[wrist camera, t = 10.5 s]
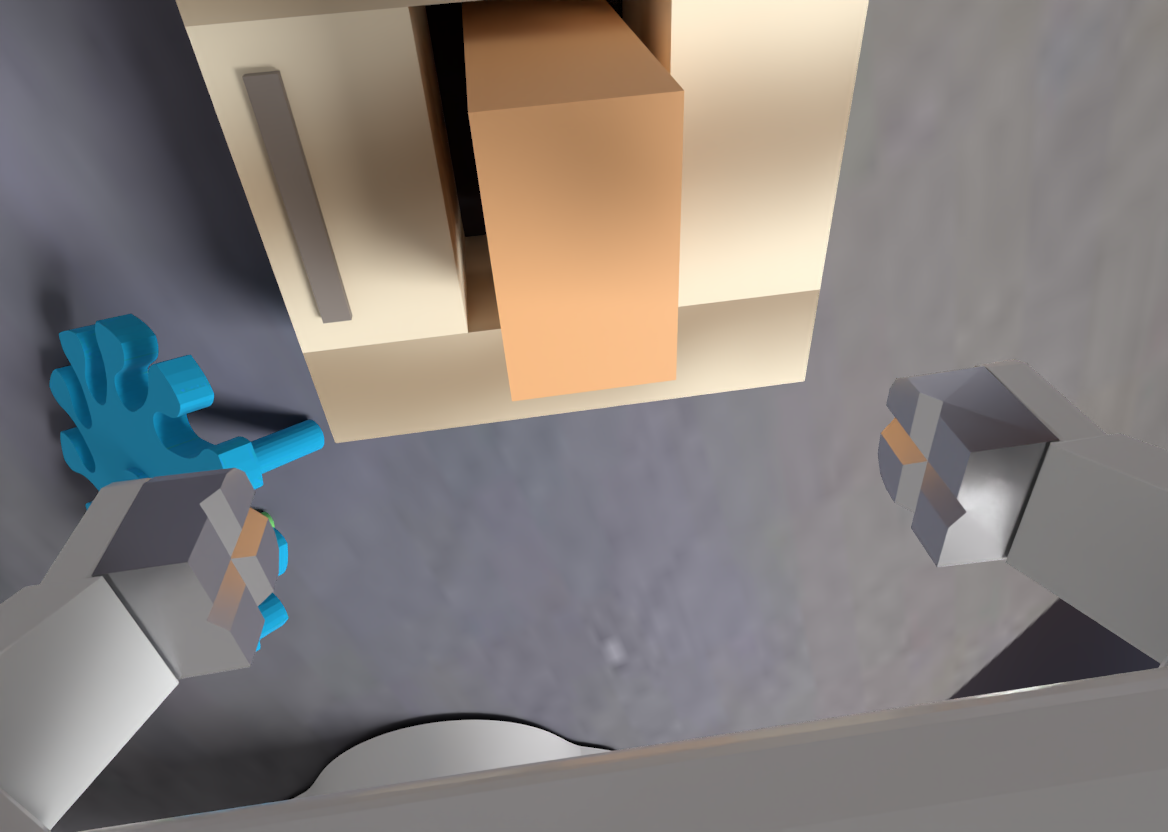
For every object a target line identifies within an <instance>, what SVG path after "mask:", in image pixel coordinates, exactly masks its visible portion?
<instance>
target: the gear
mask: <svg viewBox="0 0 1168 832" xmlns="http://www.w3.org/2000/svg"><path fill="white" fill-rule="evenodd" d="M59 338H60V342H61V345H62V348H63V351H64V353H65V355H66V357H67V358H68V360H69V362H70V363H71V365H70V366H66V367H62V368H58V369H55V370H54V371H53V372H52V374H51V378H50V384H49V387H50V389H51V392H52V394H53V396H54V397H55V399H56V401H57V402H58V403H59V405H60V406H61V407H62V408H63V409H64V410H65V411H66V412H67V413H68V415H69V416H70V417H71V418H72V420H73V421H74V423H75V424H76V426H77V427H75V428H71V429H68V430H65V431H62V432H61V433H60V439H61V446H62V451H63V456H64V460H65V461H66V463H67V464H68V466H69V467H70V468H71V469H72V470H73V471H75V472H77V473H80V474H82V475H84V476H85V477H86V478H87V479H89V480H90V481H91V482H92V483H93V484H94V486H95V487H96V488H97V489H98V491H100V489H101V488H103V487H105V486H107V485H109V484H111V483H113V482H120V481H128V480H136V479H143V478H154V477H158V476H167V475H176V474H184V473H193V472H202V471H210V470H219V469H228V468H237V469H239V470H241V471H244V472H245V473H246V475H247V477H248V479H249V481H250V483H251V484H252V486H253V488H254V490H255V489H257V488H259V487H261V486H263V478H262V474H263V473H265V472H268V471H270V470H272V469H275V468H277V467H279V466H282V465H284V464H286V463H289V462H291V461H293V460H296V459H298V458H300V457H303V456H305V455H307V454H310V453H312V452H314V451H317V450H319V449H321V448H322V447H323V446H324V435H323V433H322V430H321V428H320V427H319V425H318V424H317V423H316V422H314V421H313V420H306V421H303V422H301V423H298V424H296V425H293V426H290V427H288V428H285V429H283V430H280V431H277V432H275V433H272V434H270V435H267V436H265V437H262V438H259V439H257V440H254V441H252V442H250V441H249V440H248V439H246V438H244V437H236V438H233V439H231V440H228V441H225V442H223V443H220V444H217V445H213V444H211V443H209V442H207V441H205V440H203V439H201V438H200V437H198V436H197V435H196V434H195V432H194V431H193V429H192V428H191V426H190V424H189V421H188V418H187V414H188V413H191V412H194V411H197V410H200V409H203V408H206V407H209V406H210V405H211V404H212V403H213V400H214V393H213V390H212V388H211V386H210V384H209V382H208V380H207V378H206V376H205V375H204V373H203V372H202V370H201V369H200V367H199V366H198V364H197V363H196V361H195V360H194V359H193V357H192V356H191V355H186V356H182V357H178V358H175V359H171V360H167V361H163V362H160V363H156V364H153V365H151V366H150V368H149V371H148V366H149V365H150V364H151V363H153V362H154V361H155V360H156V359H157V357H158V352H159V351H158V342H157V338H156V335H155V334H154V333H153V331H152V330H151V329H150V328H149V327H148V326H147V325H146V324H145V323H144V322H143V321H141V320H140V319H139V318H137V317H136V316H134V315H132V314H127V315H122V316H118V317H113V318H108V319H104V320H99V321H96V324H94V325H90V326H85V327H80V328H76V329H71V330H67V331H63V332H60V333H59ZM92 502H93V501H91V502H89V503H86V509H87V510H88V508H89V506H90V505H91V503H92ZM261 514H262V515H264V516H266V517H267V518H268V519H269V521H270V523H271V525H272V527H273V529H274V532H275V535H276V539H277V543H278V547H279V574H278V576H279V575H281V574H283V573H284V572H285V570H286V568H287V563H288V545H287V542H286V540H285V538H284V537H283V536H282V535H281V533H280V532H279V531H278V530H276V529H275V528H274V522H273V520H272V518H271V516H270V515H269V514H268V513H267V512H262V513H261ZM258 608H259V610H260V612H261V614H262V616H263V618H264V619H265V622H264V626H263V629H262V632H261V635H260V639H261V638H263V637H264V636H266V635H268V634H269V633H271V632H272V631H274V630H276V629H277V628H279V627H281V626H282V625H283V624H284V623H285V622H286V621H287V620H288V615H287V612H286V610H285V608H284V606H283V605H282V603H281V601H280V600H279V599H278V598H277V596H275V595H274V594H273V593H271V594H270V595H269V596H268V597H267V598H266V599H265V600H264V601H263V602H262V603H261V604H260V605H259V606H258ZM260 639H259V640H260ZM259 649H260V641H259V642H258V645H257V649H256V651H258V650H259Z"/></svg>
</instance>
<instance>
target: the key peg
mask: <svg viewBox="0 0 1168 832" xmlns="http://www.w3.org/2000/svg"><path fill="white" fill-rule="evenodd" d="M462 18H463V35H464V52H465V68H466V85H467V102H468V115H469V122H470V128H471V135H472V141H473V148H474V155H475V161H476V168H477V174H478V181H479V188H480V194H481V201H482V207H483V214H484V221H485V227H486V234H487V240H488V247H489V254H490V260H491V267H492V273H493V280H494V286H495V293H496V300H497V306H498V313H499V319H500V326H501V333H502V339H503V346H504V352H505V359H506V366H507V372H508V379H509V385H510V392H511V399H512V401H519V400H527V399H535V398H542V397H550V396H557V395H565V394H573V393H580V392H588V391H596V390H603V389H611V388H618V387H626V386H634V385H641V384H649V383H656V382H664V381H672V380H676V368H677V333H678V298H679V263H680V228H681V193H682V158H683V123H684V90H683V88H682V87H681V86H680V85H679V84H678V83H677V82H676V80H675V79H674V78H673V77H672V76H671V75H670V74H669V72H668V71H667V70H666V69H665V68H664V67H663V66H662V64H661V63H660V62H659V61H658V60H657V59H656V57H655V56H654V55H653V54H652V53H651V52H650V51H649V49H648V48H647V47H646V46H645V45H644V44H643V43H642V41H641V40H640V39H639V38H638V37H637V36H636V35H635V33H634V32H633V31H632V30H631V29H630V28H629V26H628V25H627V24H626V23H625V22H624V21H623V20H622V18H621V17H620V16H619V15H618V14H617V13H616V12H615V10H614V9H613V8H612V7H611V6H610V5H609V4H608V2H607V1H606V0H478V1H466V2H462Z"/></svg>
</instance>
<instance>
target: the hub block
mask: <svg viewBox="0 0 1168 832" xmlns="http://www.w3.org/2000/svg"><path fill="white" fill-rule="evenodd" d="M466 1H478V0H176V3H177V6H178V9H179V11H180V14H181V17H182V20H183V22H184V25H185V28H186V31H187V33H188V36H189V39H190V42H191V45H192V47H193V50H194V53H195V56H196V58H197V61H198V64H199V67H200V69H201V72H202V75H203V78H204V81H205V83H206V86H207V89H208V92H209V94H210V97H211V100H212V103H213V105H214V108H215V111H216V114H217V117H218V119H219V122H220V125H221V128H222V130H223V133H224V136H225V139H226V141H227V144H228V147H229V150H230V153H231V155H232V158H233V161H234V164H235V166H236V169H237V172H238V175H239V177H240V180H241V183H242V186H243V189H244V191H245V194H246V197H247V200H248V202H249V205H250V208H251V211H252V213H253V216H254V219H255V222H256V224H257V227H258V230H259V233H260V236H261V238H262V241H263V244H264V247H265V249H266V252H267V255H268V258H269V260H270V263H271V266H272V269H273V272H274V274H275V277H276V280H277V283H278V285H279V288H280V291H281V294H282V296H283V299H284V302H285V305H286V308H287V310H288V313H289V316H290V319H291V321H292V324H293V327H294V330H295V332H296V335H297V338H298V341H299V344H300V346H301V349H302V352H303V355H304V357H305V360H306V363H307V366H308V368H309V371H310V374H311V377H312V380H313V382H314V385H315V388H316V391H317V393H318V396H319V399H320V402H321V404H322V407H323V410H324V413H325V416H326V418H327V421H328V424H329V427H330V429H331V432H332V435H333V438H334V440H335V443H340V442H348V441H356V440H363V439H371V438H378V437H386V436H393V435H401V434H408V433H416V432H424V431H431V430H439V429H446V428H454V427H461V426H469V425H476V424H484V423H492V422H499V421H507V420H514V419H522V418H529V417H537V416H545V415H552V414H560V413H567V412H575V411H582V410H590V409H597V408H605V407H613V406H620V405H628V404H635V403H643V402H650V401H658V400H665V399H673V398H681V397H688V396H696V395H703V394H711V393H718V392H726V391H734V390H741V389H749V388H756V387H764V386H771V385H779V384H786V383H794V382H802V381H805V375H806V369H807V363H808V357H809V351H810V345H811V339H812V333H813V327H814V321H815V315H816V309H817V304H818V298H819V292H820V286H821V280H822V274H823V268H824V262H825V256H826V250H827V244H828V238H829V233H830V227H831V221H832V215H833V209H834V203H835V197H836V191H837V185H838V179H839V173H840V167H841V161H842V156H843V150H844V144H845V138H846V132H847V126H848V120H849V114H850V108H851V102H852V96H853V90H854V85H855V79H856V73H857V67H858V61H859V55H860V49H861V43H862V37H863V31H864V25H865V19H866V13H867V8H868V2H869V0H622V16H623V21H624V22H625V23H626V24H627V25H628V26H629V28H630V29H631V30H632V31H633V32H634V33H635V35H636V36H637V37H638V38H639V39H640V40H641V41H642V43H643V44H644V45H645V46H646V47H647V48H648V49H649V51H650V52H651V53H652V54H653V55H654V56H655V57H656V59H657V60H658V61H659V62H660V63H661V64H662V66H663V67H664V68H665V69H666V70H667V71H668V72H669V74H670V75H671V76H672V77H673V78H674V79H675V80H676V82H677V83H678V84H679V85H680V86H681V87H682V88H683V90H684V123H683V158H682V193H681V228H680V263H679V298H678V333H677V368H676V380H672V381H664V382H656V383H649V384H641V385H634V386H626V387H618V388H611V389H603V390H596V391H588V392H580V393H573V394H565V395H557V396H550V397H542V398H535V399H527V400H519V401H512V399H511V392H510V385H509V379H508V372H507V366H506V359H505V352H504V346H503V339H502V333H501V326H500V319H499V313H498V306H497V300H496V293H495V286H494V280H493V273H492V267H491V260H490V254H489V247H488V240H487V235H479V236H470V237H465V235H464V229H463V223H462V218H461V212H460V206H459V200H458V194H457V188H456V183H455V177H454V171H453V165H452V159H451V153H450V147H449V142H448V136H447V130H446V124H445V118H444V112H443V106H442V101H441V95H440V89H439V83H438V77H437V71H436V66H435V60H434V54H433V48H432V42H431V36H430V30H429V25H428V19H427V13H426V7H425V5H433V4H444V3H455V2H466Z"/></svg>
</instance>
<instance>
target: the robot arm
mask: <svg viewBox="0 0 1168 832" xmlns="http://www.w3.org/2000/svg"><path fill="white" fill-rule="evenodd" d="M887 407H888V408H889V410H890V411H891V412H892V414H893V415H894V416H895V419H894V420H893V421H892V422H891V423H890V424H889V425H888V426H887V427H886V428H885V429H884V430H883V431H882V433H881V436H880V442H879V449H878V459H879V467H880V474H881V477H882V480H883V482H884V485H885V487H886V490H887V491H888V493H889V494H890V496H891V498H892V499H893V501H894V502H895V503H896V504H898V505H900V506H901V507H903V508H905V509H907V510H909V511H911V512H913V513H915V514H914V518H913V522H912V526H911V529H912V530H913V532H914V533H915V535H916V536H917V538H918V539H919V541H920V542H921V544H922V545H923V547H924V548H925V550H926V551H927V553H928V554H929V556H930V557H931V559H932V560H933V562H934V563H935V565H936V566H937V567H943V566H951V565H960V564H968V563H977V562H985V561H994V560H1002V559H1007V560H1006V563H1007V564H1009V565H1010V566H1012V567H1014V568H1015V569H1017V570H1018V571H1020V572H1021V573H1023V574H1024V575H1026V576H1027V577H1029V578H1030V579H1032V580H1033V581H1035V582H1037V583H1038V584H1040V585H1041V586H1043V587H1044V588H1046V589H1047V590H1049V591H1050V592H1052V593H1053V594H1055V595H1056V596H1058V597H1060V598H1061V599H1063V600H1064V601H1066V602H1067V603H1069V604H1070V605H1072V606H1073V607H1075V608H1077V609H1078V610H1079V611H1081V612H1083V613H1084V614H1086V615H1087V616H1089V617H1090V618H1092V619H1093V620H1095V621H1096V622H1098V623H1099V624H1101V625H1102V626H1104V627H1106V628H1107V629H1109V630H1110V631H1112V632H1113V633H1115V634H1116V635H1118V636H1119V637H1121V638H1122V639H1124V640H1125V641H1127V642H1128V643H1130V644H1132V645H1133V646H1135V647H1136V648H1138V649H1139V650H1141V651H1142V652H1144V653H1146V654H1147V655H1148V656H1150V657H1151V658H1153V659H1155V660H1156V661H1158V662H1159V663H1161V665H1160V666H1159V668H1156V669H1149V670H1143V671H1137V672H1130V673H1123V674H1117V675H1110V676H1103V677H1096V678H1090V679H1083V680H1077V681H1070V682H1064V683H1057V684H1051V685H1044V686H1037V687H1030V688H1023V689H1017V690H1010V691H1004V692H998V693H991V694H984V695H977V696H971V697H965V698H958V699H952V700H945V701H938V702H932V703H925V704H919V705H912V706H905V707H899V708H892V709H886V710H879V711H873V712H866V713H860V714H853V715H847V716H840V717H833V718H827V719H820V720H814V721H807V722H801V723H794V724H788V725H781V726H775V727H768V728H761V729H755V730H748V731H742V732H735V733H728V734H722V735H715V736H709V737H702V738H695V739H689V740H682V741H675V742H669V743H662V744H655V745H649V746H642V747H635V748H629V749H622V750H615V751H610V750H604V749H598V748H591V747H583V746H578V745H575V744H573V743H570V742H568V741H566V740H564V739H562V738H560V737H558V736H556V735H554V734H552V733H550V732H547V731H545V730H542V729H539V728H535V727H532V726H528V725H524V724H518V723H513V722H505V721H495V720H455V721H443V722H435V723H428V724H422V725H417V726H412V727H408V728H403V729H400V730H396V731H392V732H389V733H386V734H383V735H380V736H377V737H375V738H372V739H370V740H367V741H365V742H363V743H361V744H358V745H356V746H355V747H353V748H351V749H349V750H347V751H346V752H344V753H343V754H341V755H340V756H338V757H337V758H335V759H334V760H333V761H332V762H331V763H330V764H328V765H327V766H326V767H325V769H324V770H323V771H322V772H321V773H320V775H319V776H318V778H317V779H316V781H315V782H314V784H313V785H312V786H311V787H310V788H309V789H308V790H307V791H306V792H304V793H302V794H300V795H299V796H297V797H295V798H293V799H290V800H284V801H277V802H270V803H264V804H257V805H250V806H244V807H237V808H231V809H224V810H217V811H211V812H204V813H198V814H191V815H184V816H178V817H171V818H164V819H158V820H151V821H145V822H138V823H131V824H125V825H118V826H112V827H105V828H98V829H92V830H85V831H78V832H1168V450H1166V449H1163V448H1160V447H1157V446H1154V445H1152V444H1149V443H1146V442H1143V441H1141V440H1138V439H1135V438H1132V437H1130V436H1127V435H1124V434H1121V433H1119V434H1111V435H1107V434H1106V433H1105V432H1104V431H1103V430H1102V429H1101V428H1099V427H1098V426H1097V425H1096V424H1095V423H1094V422H1093V421H1092V420H1090V419H1089V418H1088V417H1087V416H1086V415H1085V414H1084V413H1083V412H1081V411H1080V410H1079V409H1078V408H1077V407H1076V406H1075V405H1074V404H1072V403H1071V402H1070V401H1069V400H1068V399H1067V398H1066V397H1065V396H1063V395H1062V394H1061V393H1060V392H1059V391H1058V390H1057V389H1056V388H1054V387H1053V386H1052V385H1051V384H1050V383H1049V382H1048V381H1047V380H1046V379H1044V378H1043V377H1042V376H1041V375H1040V374H1039V373H1038V372H1037V371H1035V370H1034V369H1033V368H1032V367H1031V366H1030V365H1029V364H1028V363H1025V362H1022V361H1019V360H1016V359H1013V360H1007V361H1001V362H995V363H989V364H983V365H977V366H975V367H973V368H966V369H959V370H952V371H944V372H937V373H930V374H923V375H916V376H909V377H902V378H896V379H895V381H894V383H893V384H892V386H891V388H890V391H889V395H888V400H887ZM254 495H255V490H254V488H253V486H252V484H251V483H250V481H249V479H248V477H247V475H246V473H245V472H244V471H241V470H239V469H237V468H228V469H219V470H210V471H202V472H193V473H184V474H176V475H167V476H158V477H154V478H143V479H136V480H128V481H120V482H113V483H111V484H109V485H107V486H105V487H103V488H101V489H100V491H99V492H98V494H97V496H96V497H95V499H94V500H93V502H92V503H91V505H90V506H89V508H88V510H87V511H86V513H85V514H84V516H83V517H82V519H81V521H80V522H79V524H78V525H77V527H76V528H75V530H74V532H73V533H72V535H71V536H70V538H69V539H68V541H67V542H66V544H65V546H64V547H63V549H62V550H61V552H60V553H59V555H58V557H57V558H56V560H55V561H54V563H53V564H52V566H51V568H50V569H49V571H48V572H47V574H46V575H45V577H44V578H43V580H42V582H41V583H40V585H34V586H27V587H24V588H23V589H21V590H20V591H19V592H17V593H16V594H14V595H13V596H12V597H10V598H9V599H7V600H6V601H4V602H3V603H2V604H0V832H51V831H50V830H51V829H52V827H53V826H54V825H55V824H56V823H57V822H58V821H59V819H60V818H61V817H62V816H63V815H64V814H65V813H66V811H67V810H68V809H69V808H70V807H71V806H72V805H73V803H74V802H75V801H76V800H77V799H78V798H79V797H80V796H81V794H82V793H83V792H84V791H85V790H86V789H87V788H88V786H89V785H90V784H91V783H92V782H93V781H94V780H95V778H96V777H97V776H98V775H99V774H100V773H101V772H102V770H103V769H104V768H105V767H106V766H107V765H108V764H109V762H110V761H111V760H112V759H113V758H114V757H115V756H116V754H117V753H118V752H119V751H120V750H121V749H122V748H123V746H124V745H125V744H126V743H127V742H128V741H129V740H130V738H131V737H132V736H133V735H134V734H135V733H136V732H137V730H138V729H139V728H140V727H141V726H142V725H143V724H144V722H145V721H146V720H147V719H148V718H149V717H150V716H151V714H152V713H153V712H154V711H155V710H156V709H157V708H158V706H159V705H160V704H161V703H162V702H163V701H164V700H165V698H166V697H167V696H168V695H169V694H170V693H171V692H172V690H173V689H174V688H175V687H176V686H177V685H178V684H179V681H178V680H177V679H182V678H188V677H194V676H200V675H206V674H211V673H217V672H223V671H229V670H235V669H240V668H246V667H251V665H252V662H253V658H254V655H255V652H256V649H257V645H258V642H259V639H260V635H261V632H262V629H263V626H264V622H265V619H264V618H263V616H262V614H261V612H260V610H259V608H258V606H259V605H260V604H261V603H262V602H263V601H264V600H265V599H266V598H267V597H268V596H269V595H270V594H271V593H272V592H273V591H274V588H275V585H276V581H277V577H278V574H279V547H278V543H277V539H276V535H275V532H274V529H273V527H272V525H271V523H270V521H269V519H268V518H267V517H266V516H264V515H262V514H261V513H259V512H257V511H256V510H254V509H252V508H251V507H250V506H251V503H252V500H253V498H254Z"/></svg>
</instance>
